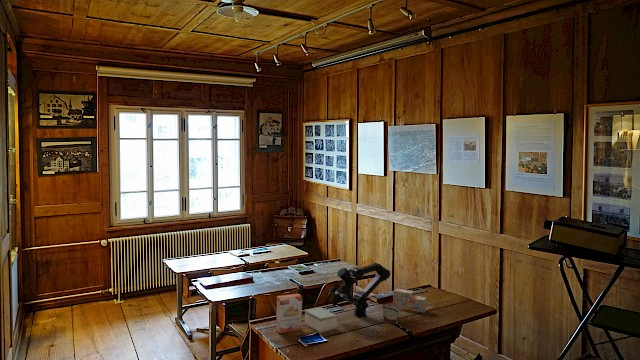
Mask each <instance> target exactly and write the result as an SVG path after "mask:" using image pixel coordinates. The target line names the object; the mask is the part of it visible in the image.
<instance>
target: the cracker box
mask: <svg viewBox="0 0 640 360" xmlns="http://www.w3.org/2000/svg"><path fill="white" fill-rule="evenodd" d="M302 310H303V296H302V295H301V294H300V293H292V294H284V295H276V322H275V323H276V324H275V325H276V327H275V329H276V332H278V334H285V333H286V334H287V333H292V332H299V331H302V316H303V315H302V314H303V313H302V312H303V311H302Z"/></svg>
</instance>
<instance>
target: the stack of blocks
mask: <svg viewBox="0 0 640 360" xmlns="http://www.w3.org/2000/svg"><path fill="white" fill-rule="evenodd" d="M392 293H393V295H392V305H396V306H398V307H399V308H402V309H407V310H413V311H417V312H422V313H424V314H425V313H426V311H427V297H424V296H418V295H414V290H409V289H404V288H403V289H402V288H395V289H394V290H393V291H392ZM425 310H426V311H425ZM417 312H416V313H417ZM422 313H421V314H422Z"/></svg>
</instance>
